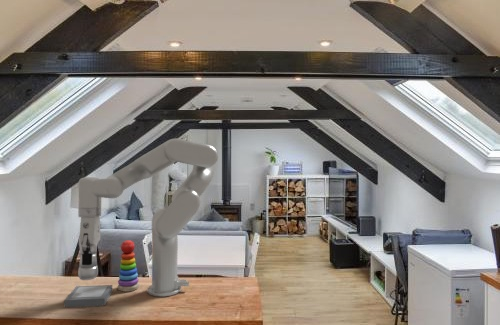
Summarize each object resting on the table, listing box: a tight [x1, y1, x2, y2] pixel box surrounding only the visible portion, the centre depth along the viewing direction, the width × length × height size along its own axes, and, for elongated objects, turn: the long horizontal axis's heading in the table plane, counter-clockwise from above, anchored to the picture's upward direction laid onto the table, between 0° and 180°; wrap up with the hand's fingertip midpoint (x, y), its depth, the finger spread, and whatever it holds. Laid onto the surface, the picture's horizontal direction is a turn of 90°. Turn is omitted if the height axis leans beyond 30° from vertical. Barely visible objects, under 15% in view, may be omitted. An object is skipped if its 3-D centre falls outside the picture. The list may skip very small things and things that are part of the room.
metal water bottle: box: [77, 236, 99, 281], centre depth 134 cm, size 6×7×20 cm
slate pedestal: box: [64, 284, 113, 308], centre depth 134 cm, size 13×13×3 cm
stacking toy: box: [117, 239, 140, 292], centre depth 145 cm, size 8×8×19 cm
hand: (89, 261), depth 134 cm, fingers closed on metal water bottle, 5 cm apart
